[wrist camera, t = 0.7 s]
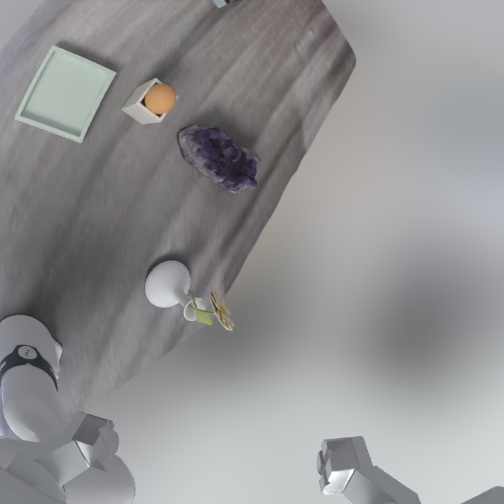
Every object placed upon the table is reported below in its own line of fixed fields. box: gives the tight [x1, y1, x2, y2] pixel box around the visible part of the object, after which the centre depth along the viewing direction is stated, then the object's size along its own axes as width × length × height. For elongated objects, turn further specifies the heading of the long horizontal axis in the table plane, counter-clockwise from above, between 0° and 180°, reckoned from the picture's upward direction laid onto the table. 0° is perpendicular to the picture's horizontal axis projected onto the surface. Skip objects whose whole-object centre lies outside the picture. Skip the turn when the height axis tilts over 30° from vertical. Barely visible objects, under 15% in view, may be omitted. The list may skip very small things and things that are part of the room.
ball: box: [145, 84, 177, 114], centre depth 42 cm, size 5×5×5 cm
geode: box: [177, 124, 261, 194], centre depth 60 cm, size 20×12×10 cm, turn 56°
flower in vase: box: [145, 260, 234, 331], centre depth 57 cm, size 13×11×25 cm
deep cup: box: [121, 78, 179, 125], centre depth 46 cm, size 6×6×9 cm
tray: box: [14, 45, 116, 143], centre depth 37 cm, size 14×14×2 cm
